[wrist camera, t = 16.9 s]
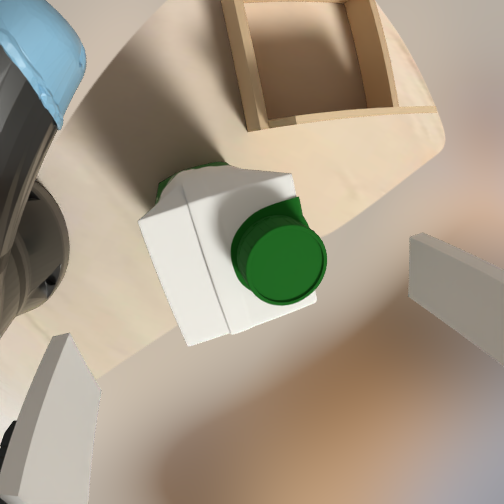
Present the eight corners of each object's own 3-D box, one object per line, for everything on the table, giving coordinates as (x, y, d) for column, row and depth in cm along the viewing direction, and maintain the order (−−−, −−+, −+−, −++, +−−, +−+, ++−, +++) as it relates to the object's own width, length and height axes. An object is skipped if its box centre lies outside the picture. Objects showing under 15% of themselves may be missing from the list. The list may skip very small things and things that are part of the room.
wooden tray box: (247, 132, 32) (286, 125, 21) (220, -1, 26) (244, -56, 15) (374, 115, 34) (442, 112, 24) (348, -2, 29) (405, -36, 18)
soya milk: (253, 230, 35) (344, 324, 17) (172, 256, 34) (182, 383, 15) (232, 150, 32) (317, 159, 13) (146, 177, 31) (110, 223, 12)
